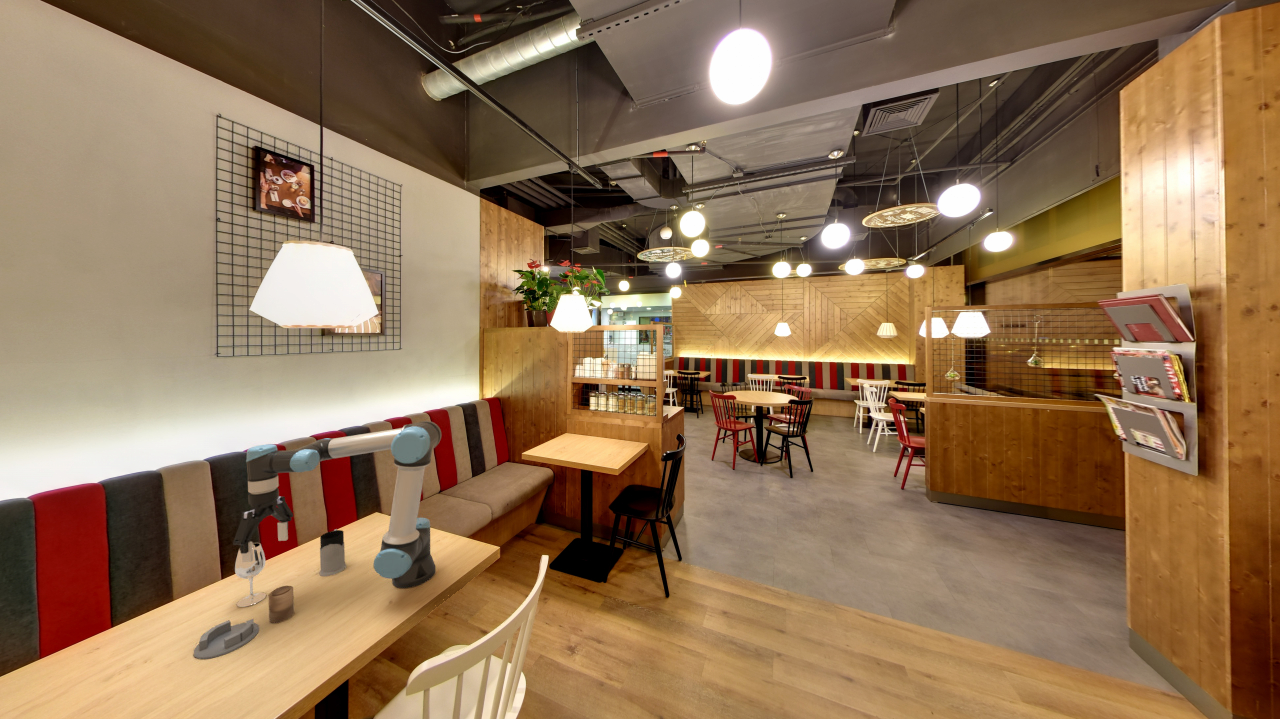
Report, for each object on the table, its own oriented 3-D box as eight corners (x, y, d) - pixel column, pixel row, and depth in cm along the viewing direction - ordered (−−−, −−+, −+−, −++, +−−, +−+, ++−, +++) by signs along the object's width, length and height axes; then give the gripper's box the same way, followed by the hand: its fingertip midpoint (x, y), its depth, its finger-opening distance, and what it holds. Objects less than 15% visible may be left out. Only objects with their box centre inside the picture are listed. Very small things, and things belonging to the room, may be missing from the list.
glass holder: (317, 578, 152) (316, 542, 152) (324, 561, 165) (323, 527, 164) (344, 572, 157) (343, 536, 156) (349, 555, 169) (348, 522, 169)
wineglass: (270, 596, 141) (269, 544, 141) (242, 610, 134) (240, 554, 134) (260, 590, 145) (258, 539, 144) (232, 603, 138) (229, 549, 137)
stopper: (298, 610, 135) (297, 583, 134) (284, 623, 128) (283, 595, 128) (279, 611, 134) (278, 584, 134) (264, 624, 128) (263, 596, 127)
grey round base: (271, 623, 128) (270, 613, 128) (230, 657, 114) (229, 646, 114) (225, 625, 127) (225, 615, 127) (178, 660, 113) (178, 649, 113)
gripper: (283, 477, 144) (285, 532, 145) (214, 506, 119) (217, 572, 120) (304, 477, 145) (306, 532, 146) (240, 505, 120) (243, 571, 121)
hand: (266, 550), depth 133 cm, fingers open, 13 cm apart
